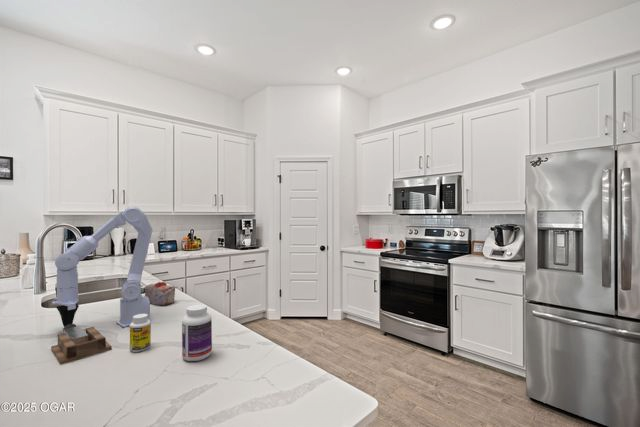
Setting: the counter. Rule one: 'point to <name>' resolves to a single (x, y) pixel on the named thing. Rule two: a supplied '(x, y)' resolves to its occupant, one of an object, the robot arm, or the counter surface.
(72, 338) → the door stop
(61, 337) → the housing
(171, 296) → the food item
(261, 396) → the counter surface
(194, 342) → the pill bottle
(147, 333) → the supplement bottle
